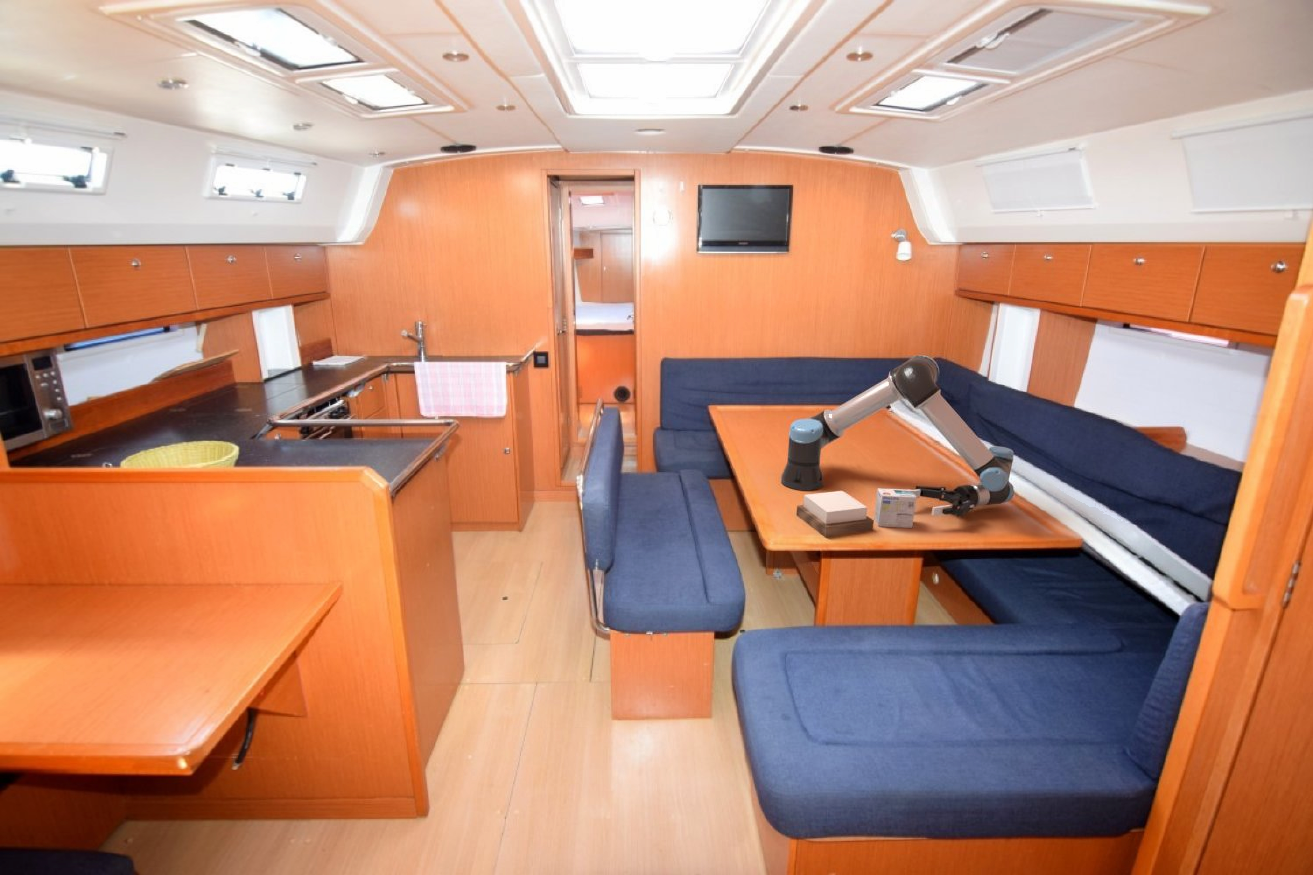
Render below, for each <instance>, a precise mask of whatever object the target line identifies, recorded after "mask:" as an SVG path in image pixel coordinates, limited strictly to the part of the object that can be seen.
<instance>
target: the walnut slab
mask: <svg viewBox="0 0 1313 875" xmlns="http://www.w3.org/2000/svg"><path fill="white" fill-rule="evenodd" d="M796 516H797V517H798V518H799V519H801V520H802V521H803V522H804V523H806V524H807V525H808V526H810V527H811V528H812V529H813V530H814V531H816V532H818V533H819V534H820V535H821V536H823V537H824V538H831V537H837V536H839V537H840V536H844V535H845V536H846V535H851V534H857V533H865V532H871V531H873V530H874V520H875V519H873V518H871V517H870V516H868V515H866V519H863V520H856V521H848V522H840V523H832V524H825V523H824V522H823V521H821V520H820V519H819V518H817V517H816V516H815V515H814V514H812V513H811V512H810V511H809V510H807V509H806V508H805V507H804V506H803V504H800V505H796Z"/></svg>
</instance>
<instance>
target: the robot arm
mask: <svg viewBox="0 0 1313 875" xmlns="http://www.w3.org/2000/svg"><path fill="white" fill-rule="evenodd" d="M939 377H940V368H939V365H938V363H937V361H935V359H933V358H932V357H930V356H928V355H913V356H912V357H910V358H909V359H908V360H907V361H905V362H904V363H901V364H900V365H898V366H897V367H895V368H894V369H892V370H891V371H889V373H888V377H887V378H886V379H883V380H882V381H880V382H878V383H877V384H875V385H873V386H872V387H869V389H867V390H865V391H863V392H861V393H860V394H858V395H856V396H855V397H853V398H851V399H849V400H847V401H846V402H844V403H842V404H841V405H840V406H838V407H835V408H834V409H832V410H831V409H827V408H826V409H824V410H823V411H820V412H819V413H818V414H816V415H813V416H811V417H810V418H801V419H796V420H794V421H793V422H791V424H790V427H789V430H788V431H789V432H788V448H787V449H788V450H787V460H786V465H785V467H784V469H783V471H782V473H781V475H780V476H781V477H780V483H781V484H782V485H783V486H785V487H786V488H789V489H792V490H798V491H815V490H819V489H821V488H822V487H823V485H824V477H823V474H822V471H821V470H822V469H821V465H820V464H821V452H822V449H823V448H824V447H826V446H827V445H830V444H831V443H832V442H834V441H836V440H837V439H839V438H842V437H843V436H844V434H845V431H846V430H847V429H850V428H851V427H852V426H855V425H856V424H858V423H860V422H862V421H864V420H865V419H867V418H868V417H871V416H872V415H874V414H876V413H878V412H879V411H881V410H883V409H885V408H887V407H889V406H890V405H892V404H894V403H896V402H897V401H900V400H901V399H902V400H906V401H908V402H909V403H910V405H911V406H912V407H913V408H914V409H916V410H920V411H921V412H922V414H924V416H925V417H926V418H927V419H928V420H929V421H930V423H931V424H932V425H933V426H934V427H935V428H936V430H937V431H938V432H939V433H940V434H941V435H942V436H943V437H944V439H946V441H947V442H948V443H949V444H950V445H951V447H952V448H953V449H954V450H955V451H956V452H957V454H959V456H960V457H961V458H962V459H963V460H964V462H965V463H966V464H967V465H968V466H969V468H970V469H971V470H972V471H974V473H975V474H976V475H977V477H979V483H970V484H964V485H958V486H956V487H955V488H954V489H953V490H952V489H951V490H950V489H949V490H947V487H946V486H926V485H925V486H922V485H916V486H915V488H914V489H910V490H911V491H912V492H913V493H914V495H915V496H916V499H919V498H922V497H924V498H930V499H935V500H936V499H937V500H938V501H942V502H947V503H949V504H947V505H939V506H933V507H932V509H931V516H932V517H937V516H944V515H953V516H954V515H956V516H957V517H962V516H964V515H965V514H967V513H968V512H969V511H971V510H974V508H977V507H982V506H990V505H1000V504H1005V503H1006V502H1007V503H1008V502H1009V501H1011V500H1013V498H1014V496H1015V489H1014V488H1015V487H1014V486H1013V484H1012V483H1011V482H1010V475H1011V472H1012V466H1013V461H1014V454H1015V453H1014V450H1012V449H1011V448H1009V447H1005V446H995V445H994V446H990V447H989V448H988V447H987V446H986V444H984V443H983V442H982V440H981V439H980V438H979V437H978V436H977V435H976V434H975V432H974V431H973V430H972V429H971V428H970V427H969V425H968V424H967V423H966V422H965V421H964V420H963V419H962V418H961V416H960V415H959V414H958V413H957V412H956V411H955V410H954V408H953V407H952V406H951V405H950V403H948V402H947V400H946V399H945V397H943V396H942V395H941V389H940V388H939V386H938V385H937V382H938V380H939Z"/></svg>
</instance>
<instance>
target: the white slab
mask: <svg viewBox="0 0 1313 875" xmlns="http://www.w3.org/2000/svg"><path fill="white" fill-rule="evenodd" d="M802 505H803V506H804V507H805V508H806V509H807V510H809V511H810V512H811V513H812V514H814V515H815V516H816V517H817V518H819V519H820V520H821V521H823V522H824V523H825V524H832V523H840V522H848V521H856V520H863V519H866V516H867V514H868V513H867V512H868V507H867V506H866V504H865V505H864V504H863V503H861V501H858V500H857V499H856V498H854V497H853V496H851V495H849V494H848V493H847V492H845V491H843V490H837V491H827V492H819V493H810V494H808V493H807V494H804V496H803V504H802Z"/></svg>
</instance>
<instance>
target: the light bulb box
mask: <svg viewBox="0 0 1313 875" xmlns="http://www.w3.org/2000/svg"><path fill="white" fill-rule="evenodd" d="M911 490H912V489H909V488H908V489H904V488H902V489H901V488H900V489H899V488H879V487H878V488H877V491H876V500H875V501H876V502H875V510H874V519H873V520H875V523H876V524H877V525H876V526H878V527H882V528H883V527H884V528H885V527H888V528H904V529H905V528H906V529H912V528H913V527H914V526H913V525H914V516H915V509H916V502H917V498H916V496H915V495H914V493H913V492H912V491H911Z"/></svg>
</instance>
